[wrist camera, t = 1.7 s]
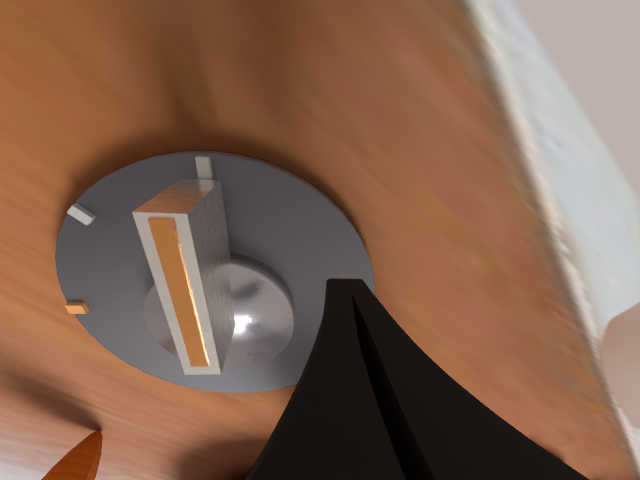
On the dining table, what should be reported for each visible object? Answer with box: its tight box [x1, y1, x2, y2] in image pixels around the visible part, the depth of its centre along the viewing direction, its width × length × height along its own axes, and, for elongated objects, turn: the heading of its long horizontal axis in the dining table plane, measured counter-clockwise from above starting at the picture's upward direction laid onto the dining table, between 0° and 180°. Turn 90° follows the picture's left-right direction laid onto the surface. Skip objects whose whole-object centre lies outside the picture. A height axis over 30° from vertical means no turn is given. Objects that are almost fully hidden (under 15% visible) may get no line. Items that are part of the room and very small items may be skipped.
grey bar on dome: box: [132, 178, 295, 375], centre depth 14 cm, size 14×9×5 cm, turn 177°
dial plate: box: [55, 150, 375, 393], centre depth 18 cm, size 20×20×1 cm
